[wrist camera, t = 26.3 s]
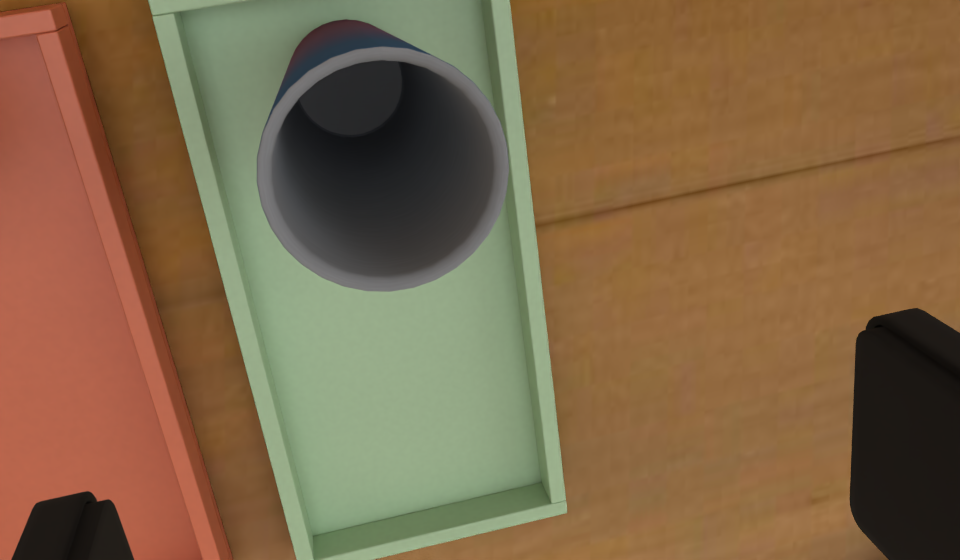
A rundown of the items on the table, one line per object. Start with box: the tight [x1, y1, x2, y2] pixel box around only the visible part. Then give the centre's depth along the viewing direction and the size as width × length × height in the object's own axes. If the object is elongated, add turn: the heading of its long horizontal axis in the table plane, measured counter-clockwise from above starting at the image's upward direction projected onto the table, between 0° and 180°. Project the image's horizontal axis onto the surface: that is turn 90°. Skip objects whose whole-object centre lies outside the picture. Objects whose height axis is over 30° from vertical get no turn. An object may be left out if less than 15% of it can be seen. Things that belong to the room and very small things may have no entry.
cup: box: [257, 19, 509, 292], centre depth 31 cm, size 7×7×15 cm
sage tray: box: [148, 0, 567, 560], centre depth 41 cm, size 28×14×3 cm, turn 8°
